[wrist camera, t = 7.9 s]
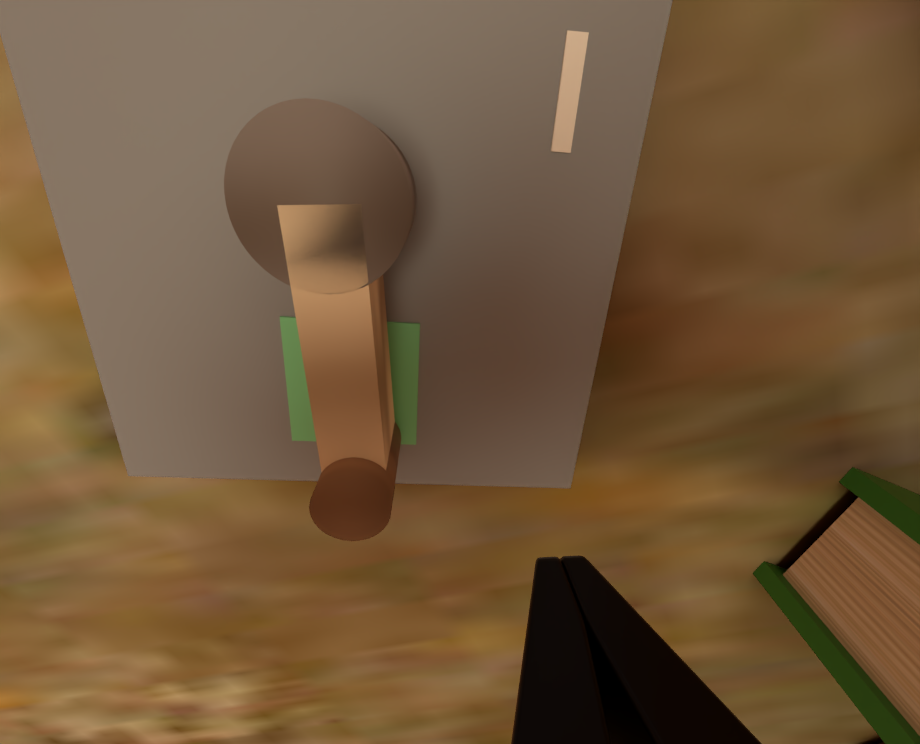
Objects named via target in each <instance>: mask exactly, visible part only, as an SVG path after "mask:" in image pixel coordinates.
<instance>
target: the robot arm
mask: <svg viewBox="0 0 920 744" xmlns="http://www.w3.org/2000/svg"><path fill="white" fill-rule="evenodd" d="M511 744H761V743H760V742H759V740H758V739H757V738H756V737H755V736H754V735H753V734H752V733H751V732H750V731H749V730H748V729H747V728H746V727H745V726H744V725H743V724H742V723H741V721H740V720H739V719H738V718H737V717H736V716H735V715H734V714H733V713H732V712H731V711H730V710H729V709H728V708H727V707H726V706H725V705H724V704H723V702H722V701H721V700H720V699H719V698H718V697H717V696H716V695H715V694H714V693H713V692H712V691H711V690H710V689H709V688H708V687H707V686H706V684H705V683H704V682H703V681H702V680H701V679H700V678H699V677H698V676H697V675H696V674H695V673H694V672H693V671H692V670H691V669H690V668H689V667H688V665H687V664H686V663H685V662H684V661H683V660H682V659H681V658H680V657H679V656H678V655H677V654H676V653H675V652H674V651H673V650H672V649H671V648H670V646H669V645H668V644H667V643H666V642H665V641H664V640H663V639H662V638H661V637H660V636H659V635H658V634H657V633H656V632H655V631H654V630H653V629H652V627H651V626H650V625H649V624H648V623H647V622H646V621H645V620H644V619H643V618H642V617H641V616H640V615H639V614H638V613H637V612H636V611H635V609H634V608H633V607H632V606H631V605H630V604H629V603H628V602H627V601H626V600H625V599H624V598H623V597H622V596H621V595H620V594H619V593H618V592H617V590H616V589H615V588H614V587H613V586H612V585H611V584H610V583H609V582H608V581H607V580H606V579H605V578H604V577H603V576H602V575H601V574H600V573H599V571H598V570H597V569H596V568H595V567H594V566H593V565H592V564H591V563H590V562H589V561H588V560H587V559H586V558H585V557H583V556H564V557H562V558H560V559H559V558H558V557H542V558H538V559H537V560H536V564H535V572H534V579H533V587H532V594H531V601H530V609H529V616H528V623H527V631H526V638H525V646H524V653H523V660H522V668H521V675H520V683H519V690H518V697H517V705H516V712H515V720H514V727H513V734H512V742H511Z"/></svg>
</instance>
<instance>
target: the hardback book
mask: <svg viewBox="0 0 920 744" xmlns="http://www.w3.org/2000/svg"><path fill="white" fill-rule="evenodd" d="M839 482H840V483H841V484H842V485H844V486H845V487H846V488H847V489H849V490H850V491H851V492H853V493H854V494H855V495H856V496H858V498H857V499H856V500H855V501H854V502H853V503H852V505H851V506H850V507H849V508H848V509H847V510H846V511H845V512H844V513H843V514H842V515H841V516H840V517H839V518H838V519H837V520H836V521H835V522H834V523H833V524H832V525H831V526H830V527H829V528H828V529H827V530H826V531H825V532H824V533H823V534H822V535H821V536H820V537H819V538H818V539H817V540H816V541H815V542H814V543H813V544H812V545H811V546H810V547H809V548H808V549H807V550H806V552H805V553H804V554H803V555H802V556H801V557H800V558H799V559H798V560H797V561H796V562H795V563H794V564H793V565H792V566H791V567H790V568H789V569H785V568H782V567H779V566H776V565H773V564H770V563H768V562H765V561H764V562H763V563H762V564H761V565H760V566H759V567H758V568H757V569H756V570H755V571H754V572H753V574H754V575H755V577H756V578H757V579H758V581H759V582H760V583H761V584H762V586H763V587H764V588H765V590H766V591H767V592H768V593H769V595H770V596H771V597H772V599H773V600H774V601H775V602H776V604H777V605H778V606H779V608H780V609H781V610H782V612H783V613H784V614H785V615H786V617H787V618H788V619H789V621H790V622H791V623H792V624H793V626H794V627H795V628H796V630H797V631H798V632H799V633H800V635H801V636H802V637H803V639H804V640H805V641H806V642H807V644H808V645H809V646H810V648H811V649H812V650H813V651H814V653H815V654H816V655H817V657H818V658H819V659H820V660H821V662H822V663H823V664H824V666H825V667H826V668H827V669H828V671H829V672H830V673H831V675H832V676H833V677H834V678H835V680H836V681H837V682H838V684H839V685H840V686H841V687H842V689H843V690H844V691H845V693H846V694H847V695H848V696H849V698H850V699H851V700H852V702H853V703H854V704H855V706H856V707H857V708H858V709H859V711H860V712H861V713H862V715H863V716H864V717H865V718H866V720H867V721H868V722H869V724H870V725H871V726H872V727H873V729H874V730H875V731H876V733H877V734H878V735H879V736H880V738H881V739H882V740H883V742H884V743H885V744H920V495H919V494H916V493H914V492H911V491H909V490H907V489H904V488H902V487H899V486H897V485H895V484H892V483H890V482H887V481H885V480H883V479H880V478H878V477H875V476H873V475H871V474H868V473H866V472H863V471H861V470H859V469H856V468H854V467H852V468H851V469H850V470H849V471H848V473H847V474H846V475H845V476H844V477H843V478H842V479H841V480H840V481H839Z"/></svg>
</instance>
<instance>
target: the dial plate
mask: <svg viewBox="0 0 920 744" xmlns="http://www.w3.org/2000/svg"><path fill="white" fill-rule="evenodd" d="M671 5H672V0H0V34H1V38H2V41H3V45H4V48H5V52H6V55H7V59H8V62H9V66H10V69H11V72H12V76H13V79H14V83H15V86H16V90H17V93H18V97H19V100H20V104H21V107H22V110H23V114H24V117H25V121H26V124H27V128H28V131H29V135H30V138H31V142H32V145H33V148H34V152H35V155H36V159H37V162H38V166H39V169H40V173H41V176H42V180H43V183H44V186H45V190H46V193H47V197H48V200H49V204H50V207H51V211H52V214H53V218H54V221H55V224H56V228H57V231H58V235H59V238H60V242H61V245H62V249H63V252H64V256H65V259H66V262H67V266H68V269H69V273H70V276H71V280H72V283H73V287H74V290H75V294H76V297H77V300H78V304H79V307H80V311H81V314H82V318H83V321H84V325H85V328H86V332H87V335H88V338H89V342H90V345H91V349H92V352H93V356H94V359H95V363H96V366H97V369H98V373H99V376H100V380H101V383H102V387H103V390H104V394H105V397H106V401H107V404H108V407H109V411H110V414H111V418H112V421H113V425H114V428H115V432H116V435H117V439H118V442H119V445H120V449H121V452H122V456H123V459H124V463H125V466H126V470H127V473H128V476H145V477H181V478H217V479H253V480H289V481H318V479H319V477H320V474H321V466H320V460H319V454H318V448H317V442H316V436H315V430H314V424H313V418H312V412H311V406H310V400H309V394H308V388H307V382H306V376H305V370H304V364H303V358H302V352H301V346H300V340H299V334H298V328H297V322H296V316H295V310H294V304H293V298H292V292H291V286H289V285H287V284H285V283H283V282H282V281H280V280H278V279H276V278H275V277H274V276H272V275H271V274H269V273H268V272H267V271H265V270H264V269H263V268H262V267H261V266H260V265H259V264H258V263H257V262H256V261H255V260H254V259H253V258H252V257H251V255H250V254H249V253H248V252H247V250H246V249H245V248H244V246H243V245H242V243H241V242H240V240H239V238H238V236H237V234H236V232H235V231H234V228H233V226H232V223H231V221H230V218H229V214H228V211H227V207H226V201H225V195H224V175H225V166H226V162H227V158H228V154H229V152H230V150H231V147H232V145H233V142H234V141H235V139H236V137H237V136H238V134H239V132H240V131H241V130H242V129H243V127H244V126H245V125H246V124H247V123H248V122H249V121H250V120H251V119H252V118H253V117H254V116H255V115H257V114H258V113H259V112H261V111H263V110H264V109H266V108H268V107H270V106H272V105H274V104H277V103H279V102H283V101H287V100H291V99H302V98H309V99H320V100H325V101H329V102H333V103H336V104H338V105H341V106H344V107H346V108H348V109H350V110H352V111H353V112H355V113H357V114H359V115H360V116H362V117H363V118H364V119H366V120H367V121H369V122H370V123H372V124H373V125H375V126H376V127H377V128H379V129H380V130H382V131H383V132H384V133H385V134H386V135H388V136H389V137H390V138H391V139H392V140H393V141H394V143H395V144H396V145H397V146H398V147H399V149H400V150H401V152H402V153H403V155H404V156H405V158H406V160H407V162H408V164H409V166H410V169H411V171H412V174H413V177H414V182H415V186H416V195H417V207H416V215H415V219H414V223H413V226H412V229H411V231H410V233H409V236H408V238H407V240H406V242H405V244H404V246H403V248H402V250H401V252H400V254H399V255H398V257H397V259H396V260H395V262H394V263H393V264H392V265H391V267H390V268H389V269H388V270H387V271H386V272H385V273H384V274H383V280H384V292H385V305H386V317H387V330H388V342H389V355H390V368H391V380H392V393H393V405H394V418H395V422H396V424H397V425H398V427H399V429H400V432H401V445H400V452H399V459H398V466H397V473H396V480H395V483H397V484H433V485H469V486H505V487H541V488H571V484H572V479H573V474H574V469H575V464H576V460H577V455H578V450H579V445H580V440H581V436H582V431H583V426H584V421H585V417H586V412H587V407H588V402H589V397H590V393H591V388H592V383H593V378H594V374H595V369H596V364H597V359H598V354H599V350H600V345H601V340H602V335H603V330H604V326H605V321H606V316H607V311H608V307H609V302H610V297H611V292H612V287H613V283H614V278H615V273H616V268H617V264H618V259H619V254H620V249H621V244H622V240H623V235H624V230H625V225H626V220H627V216H628V211H629V206H630V201H631V197H632V192H633V187H634V182H635V177H636V173H637V168H638V163H639V158H640V154H641V149H642V144H643V139H644V134H645V130H646V125H647V120H648V115H649V110H650V106H651V101H652V96H653V91H654V87H655V82H656V77H657V72H658V67H659V63H660V58H661V53H662V48H663V44H664V39H665V34H666V29H667V24H668V20H669V15H670V10H671Z"/></svg>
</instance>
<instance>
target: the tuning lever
mask: <svg viewBox="0 0 920 744" xmlns="http://www.w3.org/2000/svg"><path fill="white" fill-rule="evenodd" d="M224 195H225V201H226V207H227V211H228V214H229V218H230V221H231V223H232V226H233V228H234V231H235V232H236V234H237V236H238V238H239V240H240V242H241V243H242V245H243V246H244V248H245V249H246V250H247V252H248V253H249V254H250V255H251V257H252V258H253V259H254V260H255V261H256V262H257V263H258V264H259V265H260V266H261V267H262V268H263V269H264V270H265V271H267V272H268V273H269V274H271V275H272V276H274V277H275V278H276V279H278V280H280V281H282V282H283V283H285V284H287V285H289V286H291V292H292V298H293V304H294V310H295V316H296V322H297V328H298V334H299V340H300V346H301V352H302V358H303V364H304V370H305V376H306V382H307V388H308V394H309V400H310V406H311V412H312V418H313V424H314V430H315V436H316V442H317V448H318V454H319V460H320V466H321V474H320V477H319V479H318V482H317V485H316V487H315V490H314V492H313V495H312V497H311V500H310V506H309V509H310V514H311V517H312V519H313V521H314V523H315V524H316V525H317V526H318V528H320V529H321V530H322V531H323V532H325V533H326V534H328V535H330V536H332V537H334V538H337V539H341V540H347V541H358V540H364V539H368V538H371V537H373V536H375V535H377V534H378V533H379V532H381V531H382V530H383V529H384V528H385V527H386V525H387V524H388V522H389V519H390V515H391V508H392V501H393V494H394V487H395V480H396V473H397V466H398V459H399V452H400V445H401V432H400V429H399V427H398V425H397V424H396V422H395V418H394V405H393V393H392V380H391V368H390V355H389V342H388V330H387V317H386V305H385V292H384V280H383V274H384V273H385V272H386V271H387V270H388V269H389V268H390V267H391V265H392V264H393V263H394V262H395V260H396V259H397V257H398V255H399V254H400V252H401V250H402V248H403V246H404V244H405V242H406V240H407V238H408V236H409V233H410V231H411V229H412V226H413V223H414V219H415V215H416V207H417V195H416V186H415V182H414V177H413V174H412V171H411V169H410V166H409V164H408V162H407V160H406V158H405V156H404V155H403V153H402V152H401V150H400V149H399V147H398V146H397V145H396V144H395V143H394V141H393V140H392V139H391V138H390V137H389V136H388V135H386V134H385V133H384V132H383V131H382V130H380V129H379V128H377V127H376V126H375V125H373V124H372V123H370V122H369V121H367V120H366V119H364V118H363V117H362V116H360V115H359V114H357V113H355V112H353V111H352V110H350V109H348V108H346V107H344V106H341V105H338V104H336V103H333V102H329V101H325V100H320V99H309V98H302V99H291V100H287V101H283V102H279V103H277V104H274V105H272V106H270V107H268V108H266V109H264V110H263V111H261V112H259V113H258V114H257V115H255V116H254V117H253V118H252V119H251V120H250V121H249V122H248V123H247V124H246V125H245V126H244V127H243V129H242V130H241V131H240V132H239V134H238V136H237V137H236V139H235V141H234V142H233V145H232V147H231V150H230V152H229V154H228V158H227V162H226V166H225V175H224Z"/></svg>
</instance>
